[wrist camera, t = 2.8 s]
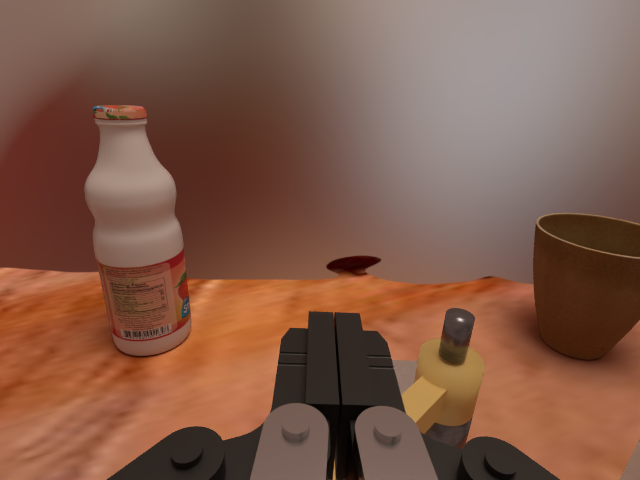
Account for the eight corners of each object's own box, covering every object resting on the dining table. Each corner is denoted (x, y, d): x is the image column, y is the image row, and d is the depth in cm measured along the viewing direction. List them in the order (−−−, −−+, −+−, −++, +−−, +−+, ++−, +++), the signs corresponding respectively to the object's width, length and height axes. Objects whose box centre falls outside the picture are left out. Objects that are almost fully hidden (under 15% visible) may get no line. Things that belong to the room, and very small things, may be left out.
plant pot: (589, 313, 59) (625, 213, 53) (667, 384, 46) (728, 261, 39) (491, 308, 59) (516, 209, 53) (540, 378, 46) (581, 254, 39)
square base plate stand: (424, 368, 46) (446, 245, 40) (521, 632, 24) (603, 451, 18) (282, 364, 46) (282, 239, 40) (249, 628, 24) (238, 442, 18)
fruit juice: (101, 334, 50) (51, 104, 39) (169, 306, 57) (143, 102, 46) (134, 370, 44) (86, 112, 33) (206, 334, 51) (186, 109, 40)
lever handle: (430, 372, 35) (438, 330, 33) (483, 402, 32) (495, 359, 30) (252, 538, 22) (249, 484, 20) (312, 617, 19) (315, 561, 17)
